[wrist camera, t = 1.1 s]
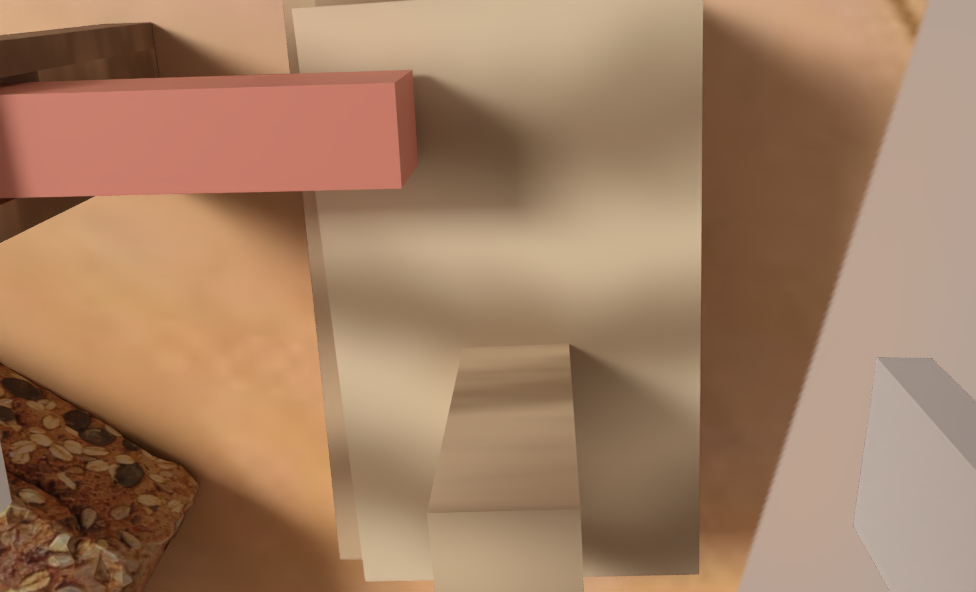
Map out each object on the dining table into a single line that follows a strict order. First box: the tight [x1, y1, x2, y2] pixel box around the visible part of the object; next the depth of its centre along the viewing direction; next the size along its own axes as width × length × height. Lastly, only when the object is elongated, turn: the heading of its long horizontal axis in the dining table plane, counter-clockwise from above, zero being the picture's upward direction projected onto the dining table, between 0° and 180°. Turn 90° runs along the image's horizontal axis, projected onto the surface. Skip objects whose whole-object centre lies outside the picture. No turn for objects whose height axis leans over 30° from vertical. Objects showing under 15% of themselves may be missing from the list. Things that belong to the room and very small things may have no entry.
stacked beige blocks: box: [292, 0, 703, 592], centre depth 26 cm, size 20×12×11 cm, turn 4°
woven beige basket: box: [0, 0, 404, 559], centre depth 33 cm, size 20×22×14 cm
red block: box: [0, 70, 418, 198], centre depth 27 cm, size 3×16×4 cm, turn 92°
